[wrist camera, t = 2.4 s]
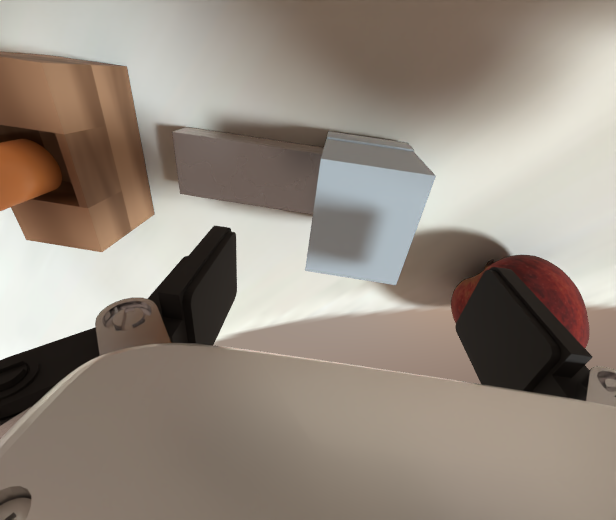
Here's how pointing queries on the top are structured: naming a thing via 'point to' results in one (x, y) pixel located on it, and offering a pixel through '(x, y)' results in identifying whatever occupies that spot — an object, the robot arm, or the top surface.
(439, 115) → the top surface
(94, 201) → the tan slotted block
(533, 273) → the apple
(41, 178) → the peg
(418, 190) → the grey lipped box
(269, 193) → the rail
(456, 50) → the top surface
